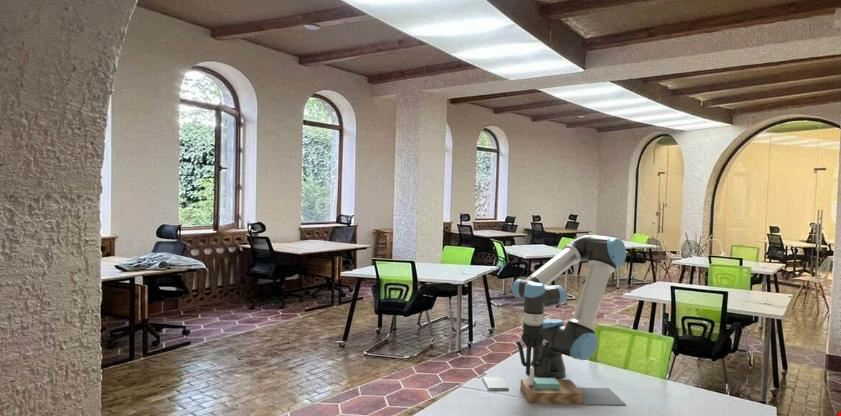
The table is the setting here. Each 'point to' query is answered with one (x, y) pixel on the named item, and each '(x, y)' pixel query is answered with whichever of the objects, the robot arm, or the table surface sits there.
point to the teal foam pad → (546, 383)
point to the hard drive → (495, 384)
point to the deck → (552, 393)
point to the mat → (600, 397)
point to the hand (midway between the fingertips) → (530, 383)
